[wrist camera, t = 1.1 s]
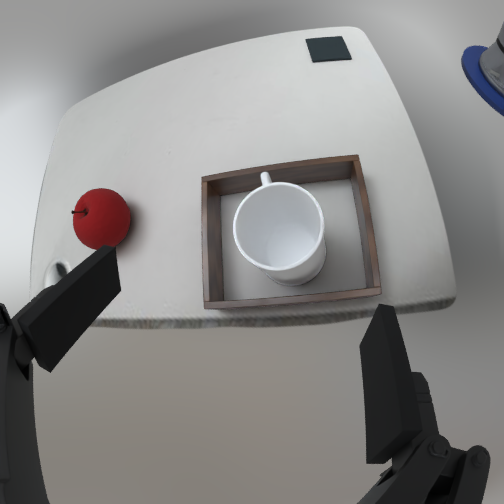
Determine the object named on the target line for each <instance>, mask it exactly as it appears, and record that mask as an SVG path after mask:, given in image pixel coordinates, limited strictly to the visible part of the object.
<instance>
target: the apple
mask: <svg viewBox="0 0 504 504" xmlns="http://www.w3.org/2000/svg"><path fill="white" fill-rule="evenodd" d="M72 214H74V215H73V226H74V230H75V233H76V235H77V237H78V239H79V240H80V241H81V242H82V243H83V244H84V245H86V246H87V247H90V248H92V249H95V250H98V249H99V248H100V247H102V246H103V245H108V246H112V247H115V246H116V245H117V244H118V243H120V242H121V241H122V240H123V239H124V238H125V236H126V234H127V232H128V229H129V226H130V219H131V215H130V210H129V208H128V206H127V204H126V202H125V201H124V199H123V198H122V197H121V196H120V195H119V194H118V193H116V192H115V191H113V190H110V189H103V188H99V189H93V190H90V191H88V192H86V193H85V194H84V195H83V196H82V197H81V198H80V199H79V201H78V202H77V204H76V206H75V210H74V211H73V210H72Z"/></svg>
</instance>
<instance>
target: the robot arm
mask: <svg viewBox="0 0 504 504" xmlns="http://www.w3.org/2000/svg"><path fill="white" fill-rule="evenodd" d="M478 66H479V69H480V72H481V74H482V75H483V77H484V78H485V80H486V81H487V82H488V84H489V85H490V86H491V87H492V88H493V89H494V90H495V91H496V92H497V93H498V94H499V95H500V96H502V97H503V98H504V23H503V25H502V28H501V30H500V33H499V35H498V38H497V40H496V42H495V43H494V44H492V45H491V46H490V47H489V48H488V49H487V50H486V51H484V52H483V53H482V54H481V56H480V59H479V61H478ZM120 291H121V286H120V280H119V272H118V265H117V256H116V247H112V246H108V245H103V246H102V247H100V248H99V249H98V250H97V251H95V252H94V253H93V254H91V255H90V256H89V257H88V258H87V259H85V260H84V261H83V262H82V263H80V264H79V265H78V266H77V267H75V268H74V269H73V270H72V271H71V272H69V273H68V274H67V275H66V276H65V277H64V278H62V279H61V280H60V281H59V282H58V283H57V284H55V285H52V286H50V287H48V288H46V289H44V290H42V291H41V292H40V293H39V294H38V295H37V296H36V297H34V298H33V299H32V300H31V302H29V303H28V304H27V305H26V306H25V307H23V308H22V309H21V310H20V311H19V312H18V313H17V314H16V315H15V316H14V317H13V318H12V319H10V316H9V314H8V311H7V309H6V307H5V305H4V304H2V303H0V504H50V503H49V501H48V498H47V494H46V489H45V485H44V480H43V476H42V471H41V465H40V459H39V452H38V445H37V437H36V428H35V417H34V398H33V364H32V362H31V360H32V359H33V358H34V357H35V359H36V361H37V363H38V364H39V366H40V367H42V368H43V369H45V370H47V371H48V372H50V373H51V371H52V370H53V369H54V368H55V366H56V365H57V364H58V363H59V361H60V360H61V359H62V358H63V356H64V355H65V354H66V353H67V352H68V350H69V349H70V348H71V347H72V346H73V345H74V343H75V342H76V341H77V340H78V339H79V337H80V336H81V335H82V334H83V333H84V332H85V331H86V329H87V328H88V327H89V326H90V325H91V324H92V322H93V321H94V320H95V319H96V318H97V317H98V316H99V315H100V313H101V312H102V311H103V310H104V309H105V308H106V307H107V306H108V305H109V303H110V302H111V301H112V300H113V299H114V298H115V297H116V296H117V295H118V294H119V293H120ZM360 355H361V364H362V376H363V389H364V403H365V423H366V463H367V464H384V463H386V462H387V461H388V460H389V459H391V458H392V466H391V467H390V468H388V469H387V470H386V471H384V472H383V473H382V474H380V476H381V478H380V479H379V481H378V482H377V483H376V484H375V485H374V486H373V487H372V488H371V490H370V491H369V492H368V493H367V494H366V495H365V496H364V497H363V498H362V499H361V500H360V501H359V502H358V503H357V504H481V503H482V500H483V496H484V491H485V487H486V483H487V478H488V473H489V468H490V455H489V452H488V451H487V450H486V448H484V447H482V446H479V445H476V446H473V447H471V448H470V449H469V450H468V451H464V450H460V449H456V448H452V447H451V446H450V444H449V442H448V440H447V439H446V438H445V437H443V436H441V435H439V431H438V427H437V421H436V416H435V412H434V407H433V403H432V398H431V395H430V390H429V386H428V382H427V381H426V379H425V378H424V376H423V375H422V373H420V372H411V369H410V364H409V360H408V356H407V352H406V348H405V345H404V341H403V338H402V334H401V330H400V327H399V323H398V320H397V316H396V313H395V310H394V307H393V306H389V305H383V304H379V305H378V307H377V309H376V312H375V314H374V316H373V318H372V320H371V323H370V325H369V327H368V329H367V331H366V333H365V336H364V338H363V339H362V342H361V344H360Z"/></svg>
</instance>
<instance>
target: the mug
mask: <svg viewBox="0 0 504 504" xmlns="http://www.w3.org/2000/svg"><path fill="white" fill-rule="evenodd" d="M261 181H262V185H263V186H261V187H259V188H257V189H255V190H253V191H252V192H251V193H250V194H248V195H247V196H246V197H245V198H244V200H243V201H242V202H241V204H240V205H239V207H238V209H237V211H236V214H235V217H234V222H233V234H234V239H235V242H236V245H237V247H238V249H239V250H240V252H241V253H242V255H243V256H244V257H245V258H246V259H247V260H248V261H249V262H251V263H252V264H254V265H255V266H256V267H258V268H259V269H261V270H262V271H264V272H265V274H266V275H267V276H268V277H269V278H270V279H272V280H273V281H275V282H277V283H279V284H282V285H287V286H296V285H301V284H304V283H306V282H308V281H310V280H311V279H313V278H314V277H315V276H316V275H317V274H318V273H319V272H320V270H321V269H322V267H323V265H324V262H325V258H326V245H325V241H324V217H323V213H322V210H321V208H320V205H319V204H318V202H317V201H316V199H315V198H314V197H313V196H312V195H311V194H310V193H309V192H308V191H307V190H305V189H304V188H302V187H300V186H298V185H295V184H291V183H286V182H275V183H272V181H271V178H270V176H269V174H268V172H263V173H261Z"/></svg>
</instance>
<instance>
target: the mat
mask: <svg viewBox="0 0 504 504" xmlns="http://www.w3.org/2000/svg"><path fill="white" fill-rule="evenodd" d="M306 43H307V46H308V49H309V52H310V55H311V58H312V61H313V62H322V61H334V60H351V59H352V58H351V55H350V53H349V51H348V49H347V46H346V44H345V42H344V40H343V38H342V36H337V37H322V38H311V39H306Z"/></svg>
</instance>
